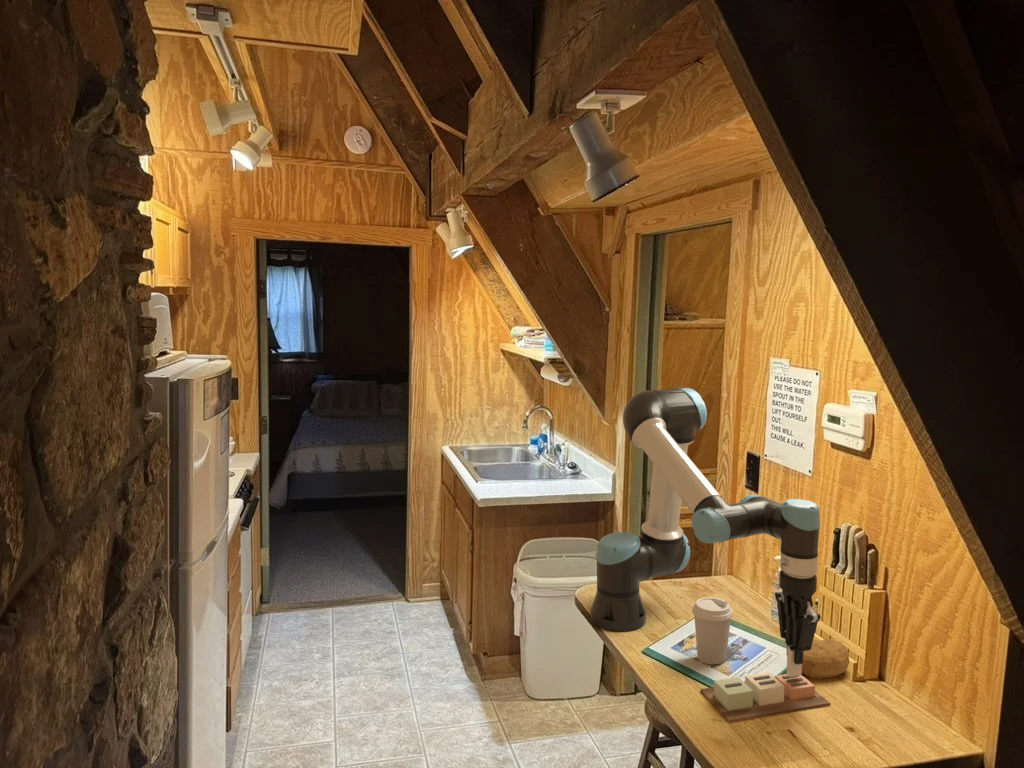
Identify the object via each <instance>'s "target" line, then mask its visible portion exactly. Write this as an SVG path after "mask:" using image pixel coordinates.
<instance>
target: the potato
mask: <svg viewBox="0 0 1024 768" xmlns="http://www.w3.org/2000/svg"><path fill="white" fill-rule="evenodd" d="M849 656H850V655H849V650H848V649H847V647H846V646H845V645H844V644H843V643H842V642H841V641H839V640H837V639H834V638H827V639H826V638H825V639H820V640H819V639H815V640H814V639H813V643H812V647H811V650H808V651H803V663H802V674H803V675H804V676H806V677H808V678H810V679H830V678H835V677H838V676H840V675H841V674H842V673H844V672H846V670H848V667H849V665H850V657H849ZM802 674H801V675H802Z"/></svg>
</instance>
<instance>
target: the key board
mask: <svg viewBox="0 0 1024 768" xmlns="http://www.w3.org/2000/svg"><path fill="white" fill-rule="evenodd" d="M743 682H744V683H745V681H743ZM699 690H700V693H701V694H702V695H703V696H704V697H705V698H706V700H708V701H709V702H710V704H711V705H712V706H713V707H714V708H715V709H716V710H717V711H718V712H719V714H720V715H722V717H723V718H724V719H725V720H726V721H727V722H728V723H734V722H739V721H747V720H751V719H757V718H763V717H764V718H765V717H769V716H775V715H780V714H787V713H792V712H798V711H799V712H800V711H805V710H811V709H816V708H822V707H827V706H828V707H829V706H831V702H830V701H829V700H828V699H826V698H825V697H824V696H823V695H822V694H820V692H818V691H816V690H815V695H814V697H812V698H806V699H800V700H794V701H790V700H789V699H788V698H787V697H785V696H784V702H782V703H776V704H770V705H763V706H759V705H758V704H757V703H756V702H755V701H754V700H753V707H751V708H745V709H739V710H733V711H727V710H726V709H725V708H724V707H723V706H722V705H721V704H720V703H719V702H718V701H717V700H716V699H715V698H714V686H713V687H712V686H711V687H706V688H700V689H699Z"/></svg>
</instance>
